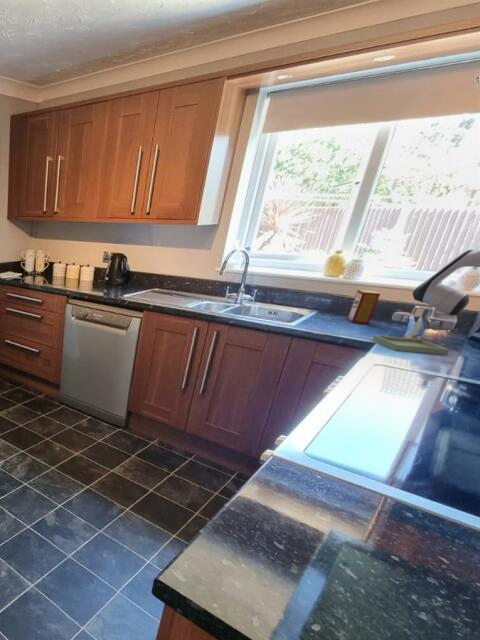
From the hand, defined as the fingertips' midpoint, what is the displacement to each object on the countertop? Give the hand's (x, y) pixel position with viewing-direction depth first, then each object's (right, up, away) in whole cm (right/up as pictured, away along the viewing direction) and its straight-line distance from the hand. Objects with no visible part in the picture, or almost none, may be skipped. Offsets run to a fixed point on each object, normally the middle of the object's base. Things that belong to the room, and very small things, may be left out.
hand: (418, 322), depth 186 cm
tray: (-12, -12, -7) cm, 18 cm away
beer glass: (0, -8, +4) cm, 9 cm away
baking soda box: (+7, +6, +37) cm, 38 cm away
